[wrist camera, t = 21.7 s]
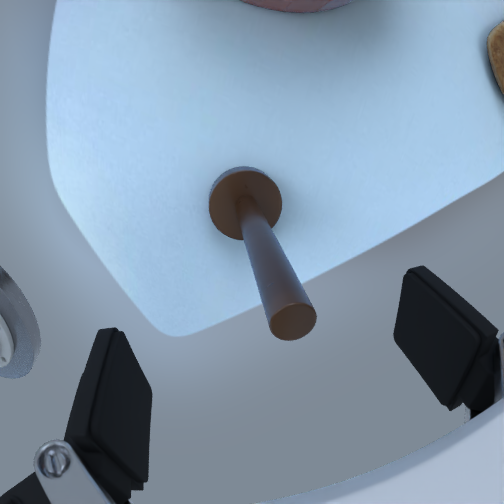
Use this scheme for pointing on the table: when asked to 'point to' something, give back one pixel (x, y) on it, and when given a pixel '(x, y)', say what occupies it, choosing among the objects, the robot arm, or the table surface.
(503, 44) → the stone cup
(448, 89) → the table surface
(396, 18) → the table surface
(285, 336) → the brown disc-based tamper
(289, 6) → the bowl
